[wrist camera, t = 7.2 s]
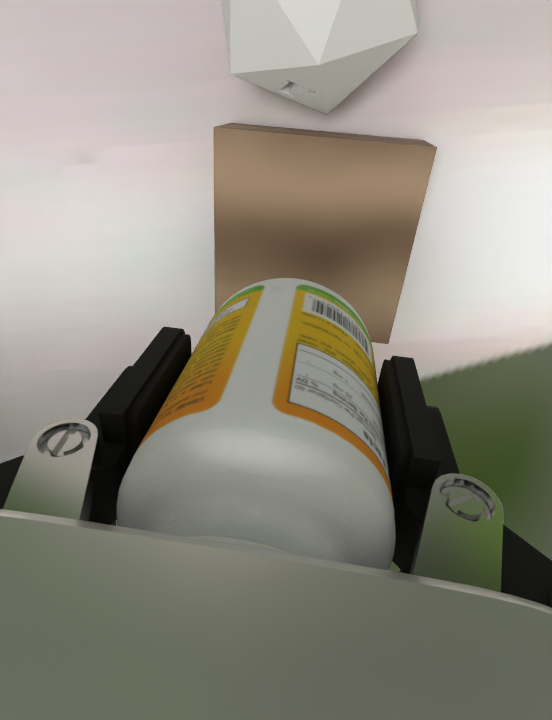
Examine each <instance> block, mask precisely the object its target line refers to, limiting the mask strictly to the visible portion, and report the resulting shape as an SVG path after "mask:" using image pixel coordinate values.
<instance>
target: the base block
mask: <svg viewBox="0 0 552 720" xmlns="http://www.w3.org/2000/svg"><path fill="white" fill-rule="evenodd" d="M436 149H437V147H435V146H433V145H431V144H429V143H427V142H426V141H424V140H414V139H403V138H392V137H381V136H370V135H359V134H348V133H336V132H325V131H314V130H303V129H292V128H281V127H270V126H258V125H247V124H236V123H229V124H225V125H221V126H217V127H214V231H215V314H216V312H217V311H218V310H219V308H220V307H221V306H222V305H223V304H224V303H225V302H226V301H227V300H228V299H229V298H230V297H231V296H233V295H234V294H235V293H237V292H238V291H240V290H242V289H243V288H245V287H247V286H249V285H252V284H254V283H257V282H261V281H265V280H269V279H276V278H294V279H302V280H307V281H311V282H314V283H317V284H319V285H322V286H324V287H326V288H328V289H330V290H332V291H333V292H335V293H337V294H338V295H340V296H341V297H342V298H343V299H345V300H346V301H347V302H348V303H349V304H350V305H351V306H352V307H353V308H354V309H355V311H356V312H357V313H358V315H359V316H360V318H361V319H362V321H363V323H364V325H365V326H366V329H367V331H368V334H369V336H370V340H371V342H376V343H384V344H388V342H389V338H390V334H391V330H392V326H393V322H394V318H395V314H396V310H397V306H398V302H399V298H400V294H401V290H402V286H403V282H404V278H405V274H406V270H407V266H408V262H409V258H410V254H411V250H412V246H413V242H414V238H415V234H416V230H417V226H418V222H419V218H420V214H421V209H422V205H423V201H424V197H425V193H426V189H427V185H428V181H429V177H430V173H431V169H432V165H433V161H434V157H435V153H436Z"/></svg>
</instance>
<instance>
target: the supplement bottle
mask: <svg viewBox="0 0 552 720" xmlns="http://www.w3.org/2000/svg"><path fill="white" fill-rule="evenodd" d="M116 512H117V522H118V526H121V527H127V528H133V529H140V530H146V531H152V532H159V533H165V534H171V535H178V536H184V537H190V538H196V539H202V540H208V541H214V542H221V543H227V544H233V545H239V546H245V547H251V548H257V549H263V550H269V551H276V552H282V553H288V554H294V555H300V556H306V557H312V558H317V559H323V560H329V561H335V562H341V563H347V564H353V565H359V566H365V567H371V568H377V569H383V570H389V568H390V565H391V562H392V559H393V555H394V548H395V540H396V533H395V520H394V506H393V499H392V491H391V484H390V478H389V470H388V462H387V455H386V447H385V439H384V431H383V424H382V416H381V409H380V401H379V393H378V386H377V378H376V370H375V362H374V355H373V349H372V345H371V340H370V336H369V334H368V331H367V329H366V326H365V325H364V323H363V321H362V319H361V318H360V316H359V315H358V313H357V312H356V311H355V309H354V308H353V307H352V306H351V305H350V304H349V303H348V302H347V301H346V300H345V299H343V298H342V297H341V296H340V295H338V294H337V293H335V292H333V291H332V290H330V289H328V288H326V287H324V286H322V285H319V284H317V283H314V282H311V281H307V280H302V279H294V278H276V279H269V280H265V281H261V282H257V283H254V284H252V285H249V286H247V287H245V288H243V289H242V290H240V291H238V292H237V293H235V294H234V295H233V296H231V297H230V298H229V299H228V300H227V301H226V302H225V303H224V304H223V305H222V306H221V307H220V308H219V310H218V311H217V312H216V314H215V315H214V317H213V318H212V320H211V321H210V323H209V325H208V327H207V329H206V330H205V332H204V334H203V336H202V337H201V339H200V341H199V343H198V345H197V346H196V348H195V350H194V352H193V353H192V355H191V357H190V359H189V360H188V362H187V364H186V366H185V367H184V369H183V371H182V373H181V374H180V376H179V378H178V380H177V381H176V383H175V385H174V387H173V388H172V390H171V392H170V393H169V395H168V397H167V399H166V401H165V402H164V404H163V406H162V407H161V409H160V411H159V413H158V414H157V416H156V418H155V420H154V421H153V423H152V425H151V427H150V428H149V430H148V432H147V433H146V435H145V437H144V438H143V440H142V442H141V444H140V445H139V447H138V449H137V451H136V453H135V454H134V456H133V458H132V461H131V463H130V465H129V467H128V469H127V471H126V473H125V475H124V477H123V479H122V482H121V485H120V488H119V493H118V499H117V511H116Z"/></svg>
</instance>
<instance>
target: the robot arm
mask: <svg viewBox="0 0 552 720" xmlns="http://www.w3.org/2000/svg"><path fill="white" fill-rule="evenodd" d="M190 357H191V337H190V335H187V334H185V332H184V330H183V329H178V328H171V327H163V328H162V329H161V330H160V332H159V333H158V334H157V336H156V337H155V338H154V339H153V341H152V342H151V343H150V345H149V346H148V347H147V349H146V350H145V351H144V352H143V354H142V355H141V356H140V358H139V359H138V360H137V361H136V363H135V364H134V365H133V366H128V367H127V368H126V369H125V370H124V371H123V373H122V374H121V375H120V376H119V378H118V379H117V380H116V381H115V383H114V384H113V385H112V386H111V388H110V389H109V390H108V392H107V393H106V394H105V395H104V397H103V398H102V399H101V400H100V402H99V403H98V404H97V405H96V407H95V408H94V409H93V410H92V412H91V413H90V414H89V416H88V417H87V418H86V419H85V420H84V419H76V418H70V419H64V420H59V421H56V422H53V423H50V424H49V425H47V426H45V427H43V428H42V429H40V430H39V431H38V432H37V433H36V434H35V435H34V436H33V438H32V439H31V441H30V443H29V445H28V448H27V450H26V453H25V455H23V456H20V457H17V458H15V459H12V460H9V461H6V462H4V463H1V464H0V720H552V561H551V560H550V559H549V558H547V557H546V556H545V555H543V554H542V553H541V552H539V551H538V550H537V549H535V548H534V547H533V546H531V545H530V544H528V543H527V542H526V541H524V540H523V539H522V538H521V537H519V536H518V535H516V534H515V533H514V532H513V531H511V530H510V529H509V528H507V527H506V526H504V525H503V509H502V504H501V502H500V500H499V499H498V497H497V495H495V493H494V492H493V491H492V490H491V489H490V488H489V487H487V486H486V485H485V484H483V483H482V482H480V481H478V480H476V479H474V478H472V477H470V476H466V475H462V474H460V473H459V470H458V467H457V464H456V461H455V457H454V454H453V451H452V448H451V445H450V442H449V438H448V435H447V432H446V429H445V426H444V422H443V419H442V416H441V413H440V411H439V409H438V408H437V407H433V406H426V403H425V399H424V395H423V392H422V388H421V384H420V381H419V377H418V373H417V370H416V366H415V363H414V360H413V358H407V357H399V356H392V358H391V360H384V362H383V365H382V369H381V373H380V377H379V381H378V385H377V386H378V393H379V401H380V409H381V416H382V424H383V431H384V439H385V447H386V455H387V462H388V470H389V478H390V484H391V491H392V499H393V506H394V520H395V533H396V540H395V548H394V555H393V559H392V561H393V562H394V563H395V564H396V565H397V566H398V567H399V568H400V569H399V572H394V571H388V570H383V569H377V568H371V567H365V566H359V565H353V564H347V563H341V562H335V561H329V560H323V559H317V558H312V557H306V556H300V555H294V554H288V553H282V552H276V551H269V550H263V549H257V548H251V547H245V546H239V545H233V544H227V543H221V542H214V541H208V540H202V539H196V538H190V537H184V536H178V535H171V534H165V533H159V532H152V531H146V530H140V529H133V528H127V527H121V526H116V520H117V512H116V511H117V499H118V493H119V488H120V485H121V482H122V479H123V477H124V475H125V473H126V471H127V469H128V467H129V465H130V463H131V461H132V458H133V456H134V454H135V453H136V451H137V449H138V447H139V445H140V444H141V442H142V440H143V438H144V437H145V435H146V433H147V432H148V430H149V428H150V427H151V425H152V423H153V421H154V420H155V418H156V416H157V414H158V413H159V411H160V409H161V407H162V406H163V404H164V402H165V401H166V399H167V397H168V395H169V393H170V392H171V390H172V388H173V387H174V385H175V383H176V381H177V380H178V378H179V376H180V374H181V373H182V371H183V369H184V367H185V366H186V364H187V362H188V360H189V359H190Z"/></svg>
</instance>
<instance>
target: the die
mask: <svg viewBox="0 0 552 720" xmlns="http://www.w3.org/2000/svg"><path fill="white" fill-rule="evenodd" d="M222 7H223V16H224V24H225V33H226V42H227V50H228V59H229V67H230V74H232V75H234V76H236V77H239V78H241V79H243V80H246V81H248V82H250V83H253V84H255V85H258V86H260V87H262V88H265V89H267V90H269V91H272V92H274V93H276V94H279V95H281V96H283V97H286V98H288V99H291V100H293V101H295V102H298V103H300V104H302V105H305V106H307V107H309V108H312V109H314V110H317V111H319V112H321V113H324V114H326V115H327V114H328V113H329V112H330V111H332V110H333V109H334V108H335V107H336V106H337V105H338V104H339V103H340V102H342V101H343V100H344V99H345V98H346V97H347V96H348V95H349V94H350V93H352V92H353V91H354V90H355V89H356V88H357V87H358V86H359V85H360V84H362V83H363V82H364V81H365V80H366V79H367V78H368V77H369V76H370V75H372V74H373V73H374V72H375V71H376V70H377V69H378V68H379V67H380V66H382V65H383V64H384V63H385V62H386V61H387V60H388V59H389V58H390V57H392V56H393V55H394V54H395V53H396V52H397V51H398V50H399V49H400V48H401V47H403V46H404V45H405V44H406V43H407V42H408V41H409V40H410V39H411V38H413V37H414V36H415V35H416V34H417V33H418V28H417V7H416V0H222Z"/></svg>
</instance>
